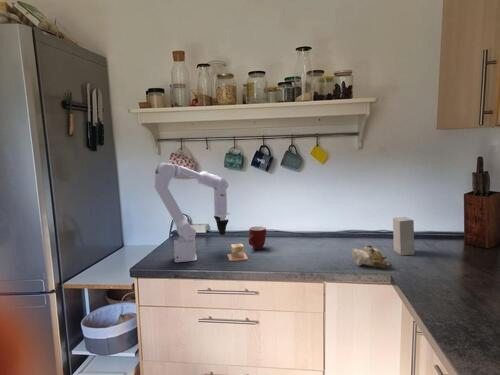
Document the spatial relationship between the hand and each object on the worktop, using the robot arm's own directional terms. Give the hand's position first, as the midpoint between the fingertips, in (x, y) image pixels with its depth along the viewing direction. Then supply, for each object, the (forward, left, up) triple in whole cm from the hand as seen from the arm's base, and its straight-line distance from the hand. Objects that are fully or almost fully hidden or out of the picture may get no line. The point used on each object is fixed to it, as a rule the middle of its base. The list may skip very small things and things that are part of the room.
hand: (221, 232), depth 166 cm
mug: (+17, +2, -10) cm, 20 cm away
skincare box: (+80, -20, -10) cm, 83 cm away
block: (+6, -8, -9) cm, 14 cm away
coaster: (+6, -8, -10) cm, 14 cm away
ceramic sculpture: (+58, -32, -10) cm, 66 cm away
